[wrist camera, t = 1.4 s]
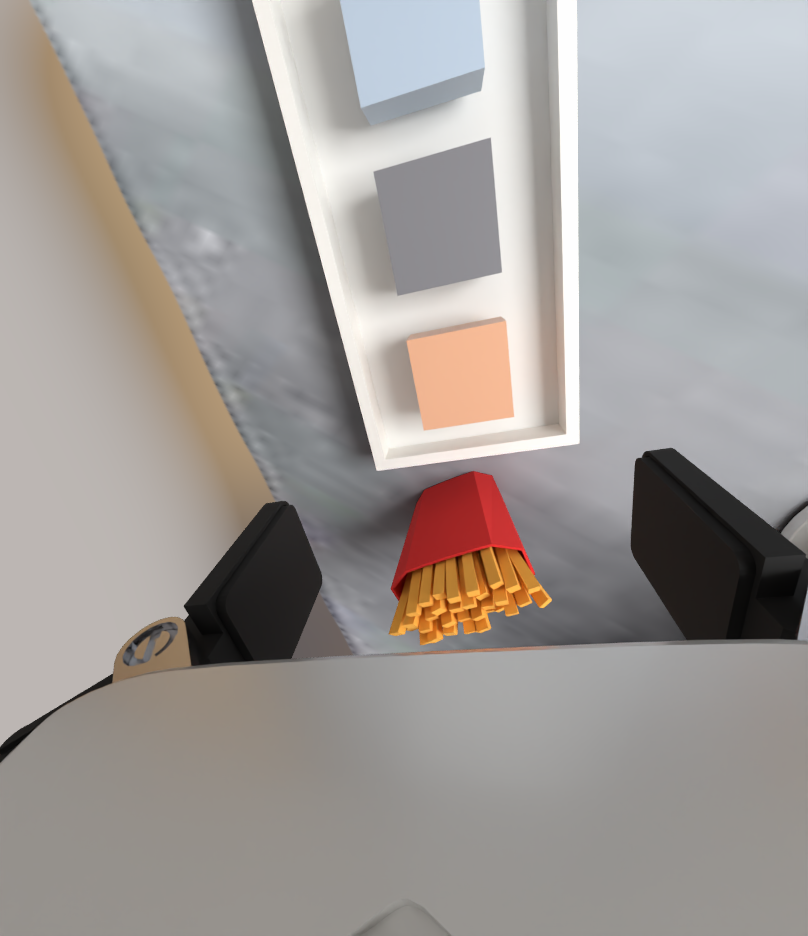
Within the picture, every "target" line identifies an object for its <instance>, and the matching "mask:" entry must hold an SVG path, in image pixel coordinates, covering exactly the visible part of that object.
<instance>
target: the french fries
mask: <svg viewBox="0 0 808 936" xmlns="http://www.w3.org/2000/svg"><path fill="white" fill-rule="evenodd" d="M534 575H535V572H534V570H533V568H532V565H531V563H530V561H529V558H528V556H527V554H526V552H525V549H524V547H523V545H522V542H521V540H520V538H519V535H518V533H517V531H516V528H515V526H514V524H513V522H512V519H511V517H510V515H509V512H508V510H507V508H506V505H505V503H504V501H503V498H502V496H501V494H500V492H499V490H498V487H497V485H496V483H495V481H494V479H493V476H492V475H487V474H483V473H479V472H475V471H472V472H469V473H466V474H463V475H460V476H458V477H455V478H452V479H449V480H447V481H444V482H442V483H439V484H437V485H434V486H432V487H430V488H427V489H425V490H424V491H423V493H422V495H421V496H420V498H419V500H418V502H417V504H416V507H415V510H414V513H413V517H412V520H411V523H410V527H409V530H408V533H407V537H406V540H405V543H404V546H403V550H402V553H401V556H400V560H399V563H398V566H397V570H396V573H395V576H394V580H393V583H392V586H391V590H392V592H393V593H394V595H395V596H396V598H397V599H398V601H399V603H398V606H397V609H396V613H395V616H394V619H393V622H392V625H391V628H390V632H389V634H390V635H394V636H398V635H403V634H405V631H406V630H407V631H413V630H416V629H419V633H420V645H425V644H429V643H435V642H438V641H440V640H442V639H443V634H444V635H446V636H450V635H457V630H458V621H460V622H463V626H464V634H470V633H474V632H479V633H482V632H484V631H487V630H489V629H491V626H490V622H489V619H488V615H487V613H490V612H494V611H496V612H500V611H503V610H505V614H506V616H511V615H516V614H519V612H518V609H517V605H518V606H520V607H524V606H526V605H528V604H531V603H532V601H531V598H530V596H529V594H531V596H532V597H533V599H534V600H535V602H536V603H537V605H538V606H539V608H544V607H545V606H546V605H547V604H548V603H550V602H551V601H552V599H551V598H550V597H549V595H548V594H547V593H546V591H545V590H544V589H543V587H542V586H541V585H540V584H539V582H538V581H537V579H536V578H535V576H534ZM514 598H515V599H514ZM515 601H516V602H515ZM516 604H517V605H516Z"/></svg>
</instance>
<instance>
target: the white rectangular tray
mask: <svg viewBox="0 0 808 936" xmlns="http://www.w3.org/2000/svg"><path fill="white" fill-rule="evenodd" d="M252 2H253V6H254V10H255V13H256V17H257V21H258V25H259V28H260V32H261V36H262V40H263V44H264V47H265V51H266V55H267V59H268V62H269V66H270V70H271V74H272V77H273V81H274V85H275V89H276V92H277V96H278V100H279V104H280V108H281V111H282V115H283V119H284V123H285V126H286V130H287V134H288V138H289V141H290V145H291V149H292V153H293V156H294V160H295V164H296V168H297V172H298V175H299V179H300V183H301V187H302V190H303V194H304V198H305V202H306V205H307V209H308V213H309V217H310V221H311V224H312V228H313V232H314V236H315V239H316V243H317V247H318V251H319V254H320V258H321V262H322V266H323V269H324V273H325V277H326V281H327V285H328V288H329V292H330V296H331V300H332V303H333V307H334V311H335V315H336V318H337V322H338V326H339V330H340V333H341V337H342V341H343V345H344V349H345V352H346V356H347V360H348V364H349V367H350V371H351V375H352V379H353V382H354V386H355V390H356V394H357V398H358V401H359V405H360V409H361V413H362V416H363V420H364V424H365V428H366V431H367V435H368V439H369V443H370V446H371V450H372V454H373V458H374V462H375V465H376V469H377V471H380V470H388V469H395V468H403V467H410V466H417V465H425V464H432V463H440V462H447V461H454V460H462V459H469V458H477V457H484V456H491V455H499V454H506V453H514V452H521V451H528V450H536V449H543V448H551V447H558V446H565V445H573V444H579V300H578V121H577V0H479V2H480V14H481V26H482V38H483V50H484V62H485V70H484V76H483V83H482V89H481V91H479V92H476V93H473V94H470V95H466V96H463V97H460V98H457V99H454V100H451V101H447V102H444V103H441V104H438V105H435V106H432V107H428V108H425V109H422V110H419V111H416V112H413V113H409V114H406V115H403V116H400V117H397V118H394V119H390V120H387V121H384V122H381V123H378V124H375V125H370V123H369V122H368V120H367V118H366V116H365V115H364V113H363V111H362V109H361V106H360V101H359V96H358V91H357V86H356V81H355V75H354V70H353V65H352V60H351V55H350V50H349V45H348V40H347V34H346V29H345V24H344V19H343V14H342V9H341V4H340V0H252ZM487 138H491V146H492V158H493V170H494V181H495V193H496V205H497V217H498V229H499V241H500V253H501V265H502V273H498V274H493V275H489V276H484V277H480V278H475V279H471V280H466V281H462V282H457V283H453V284H448V285H444V286H440V287H435V288H431V289H426V290H422V291H417V292H413V293H408V294H404V295H399V296H397V291H396V285H395V280H394V275H393V270H392V265H391V260H390V255H389V250H388V244H387V239H386V234H385V229H384V224H383V219H382V214H381V209H380V203H379V198H378V193H377V188H376V183H375V178H374V173H373V172H374V171H377V170H381V169H384V168H388V167H391V166H395V165H398V164H401V163H405V162H408V161H412V160H415V159H419V158H422V157H425V156H429V155H432V154H436V153H439V152H443V151H446V150H449V149H453V148H456V147H460V146H463V145H467V144H470V143H473V142H477V141H480V140H484V139H487ZM500 316H501V317H502V318H504V319H505V320H506V325H507V337H508V349H509V361H510V373H511V385H512V397H513V409H514V417H511V418H504V419H498V420H491V421H484V422H478V423H471V424H465V425H458V426H452V427H445V428H438V429H432V430H425V431H424V429H423V424H422V419H421V413H420V408H419V403H418V398H417V393H416V388H415V383H414V378H413V372H412V367H411V362H410V357H409V352H408V347H407V342H406V341H407V339H408V337H409V336H410V335H411V334H416V333H421V332H426V331H431V330H436V329H441V328H446V327H451V326H456V325H461V324H466V323H470V322H475V321H480V320H485V319H490V318H495V317H500Z"/></svg>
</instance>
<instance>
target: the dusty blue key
mask: <svg viewBox="0 0 808 936" xmlns="http://www.w3.org/2000/svg"><path fill="white" fill-rule="evenodd" d="M340 4H341V9H342V14H343V19H344V24H345V29H346V34H347V40H348V45H349V50H350V55H351V60H352V65H353V70H354V75H355V81H356V86H357V91H358V96H359V101H360V106H361V109H362V111H363V113H364V115H365V116H366V118H367V120H368V122H369V123H370V125H375V124H378V123H381V122H384V121H387V120H390V119H394V118H397V117H400V116H403V115H406V114H409V113H413V112H416V111H419V110H422V109H425V108H428V107H432V106H435V105H438V104H441V103H444V102H447V101H451V100H454V99H457V98H460V97H463V96H466V95H470V94H473V93H476V92H479V91H481V89H482V83H483V76H484V70H485V62H484V50H483V38H482V26H481V14H480V2H479V0H340Z"/></svg>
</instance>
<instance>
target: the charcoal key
mask: <svg viewBox="0 0 808 936" xmlns="http://www.w3.org/2000/svg"><path fill="white" fill-rule="evenodd" d="M373 173H374V178H375V183H376V188H377V193H378V198H379V203H380V209H381V214H382V219H383V224H384V229H385V234H386V239H387V244H388V250H389V255H390V260H391V265H392V270H393V275H394V280H395V285H396V291H397V296H399V295H404V294H408V293H413V292H417V291H422V290H426V289H431V288H435V287H440V286H444V285H448V284H453V283H457V282H462V281H466V280H471V279H475V278H480V277H484V276H489V275H493V274H498V273H502V265H501V253H500V241H499V229H498V217H497V205H496V193H495V181H494V170H493V158H492V146H491V138H487V139H484V140H480V141H477V142H473V143H470V144H467V145H463V146H460V147H456V148H453V149H449V150H446V151H443V152H439V153H436V154H432V155H429V156H425V157H422V158H419V159H415V160H412V161H408V162H405V163H401V164H398V165H395V166H391V167H388V168H384V169H381V170H377V171H374V172H373Z"/></svg>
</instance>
